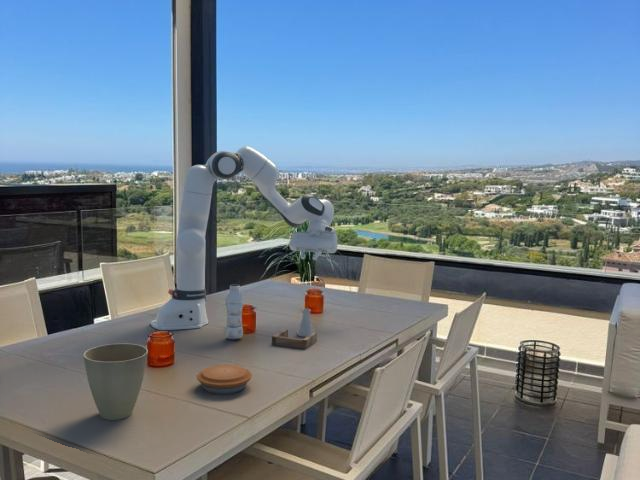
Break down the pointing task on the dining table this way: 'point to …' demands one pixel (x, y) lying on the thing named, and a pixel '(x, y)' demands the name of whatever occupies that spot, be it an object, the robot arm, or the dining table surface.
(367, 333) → the dining table surface
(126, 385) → the plant pot
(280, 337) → the walnut bay
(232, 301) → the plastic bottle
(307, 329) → the flask
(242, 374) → the pie
